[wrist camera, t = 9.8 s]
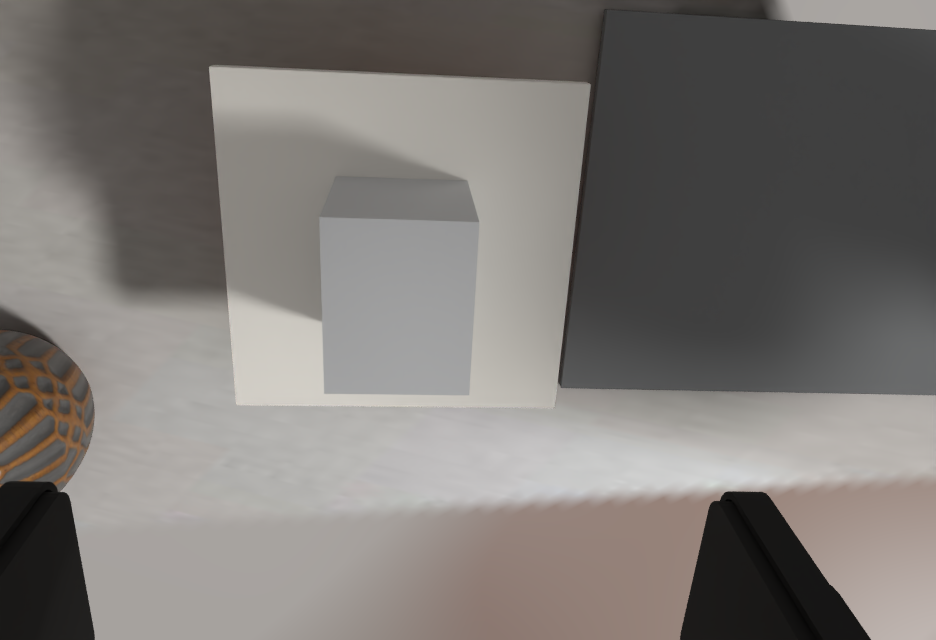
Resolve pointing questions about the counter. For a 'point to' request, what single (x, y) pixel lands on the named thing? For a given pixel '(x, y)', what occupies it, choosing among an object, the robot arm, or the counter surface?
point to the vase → (41, 411)
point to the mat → (757, 209)
